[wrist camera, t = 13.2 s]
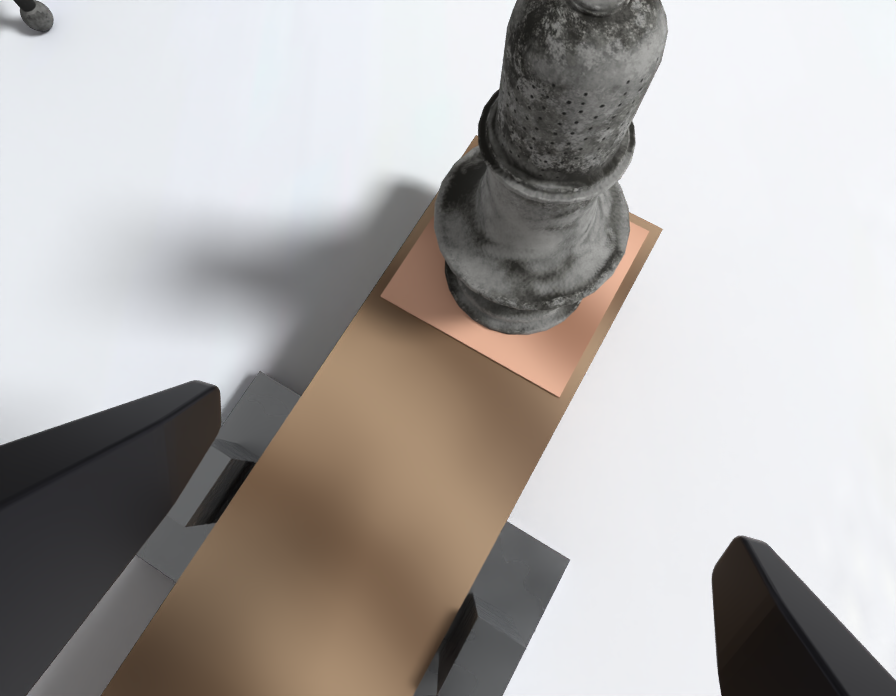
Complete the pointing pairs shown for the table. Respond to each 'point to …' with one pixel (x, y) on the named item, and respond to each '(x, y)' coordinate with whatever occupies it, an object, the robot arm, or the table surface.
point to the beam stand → (483, 610)
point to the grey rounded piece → (549, 163)
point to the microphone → (35, 14)
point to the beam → (375, 495)
